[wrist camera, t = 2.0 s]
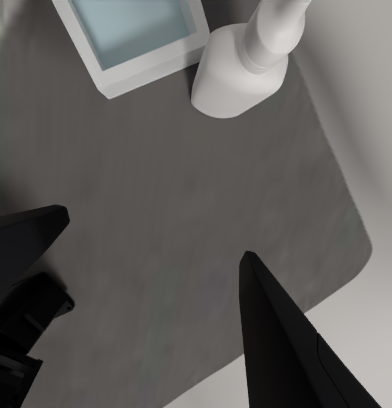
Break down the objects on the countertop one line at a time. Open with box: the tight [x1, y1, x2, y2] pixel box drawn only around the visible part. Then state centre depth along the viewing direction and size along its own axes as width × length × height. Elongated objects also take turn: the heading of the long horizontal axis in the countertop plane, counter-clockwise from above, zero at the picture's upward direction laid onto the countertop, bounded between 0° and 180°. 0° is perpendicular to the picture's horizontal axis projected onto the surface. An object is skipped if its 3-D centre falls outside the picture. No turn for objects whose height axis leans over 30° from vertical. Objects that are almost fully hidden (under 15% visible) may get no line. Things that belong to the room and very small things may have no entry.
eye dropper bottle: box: [191, 0, 312, 118], centre depth 11 cm, size 4×6×12 cm
